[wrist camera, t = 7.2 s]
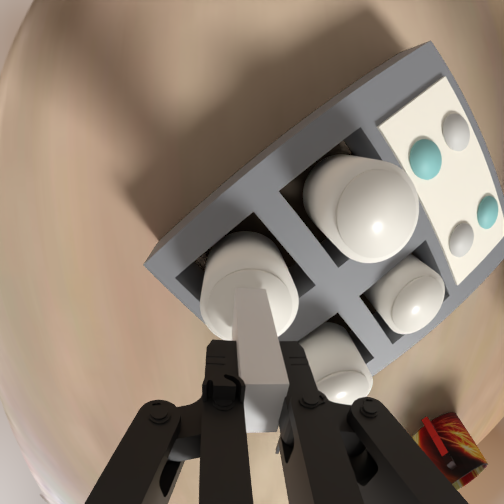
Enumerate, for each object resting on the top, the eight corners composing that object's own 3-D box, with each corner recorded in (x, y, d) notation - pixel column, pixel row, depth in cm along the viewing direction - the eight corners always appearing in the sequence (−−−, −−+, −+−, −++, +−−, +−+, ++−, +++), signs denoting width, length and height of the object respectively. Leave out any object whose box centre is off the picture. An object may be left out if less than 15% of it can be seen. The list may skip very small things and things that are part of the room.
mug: (421, 410, 33) (457, 472, 22) (465, 412, 36) (496, 459, 25) (380, 450, 36) (404, 509, 24) (429, 447, 39) (453, 494, 27)
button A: (397, 232, 22) (434, 256, 17) (420, 275, 24) (453, 304, 19) (348, 272, 23) (376, 306, 18) (376, 312, 25) (403, 347, 20)
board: (399, 52, 18) (434, 39, 13) (485, 230, 24) (518, 246, 19) (158, 241, 22) (141, 268, 17) (304, 379, 28) (315, 416, 23)
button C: (349, 138, 17) (391, 139, 12) (390, 201, 19) (435, 223, 14) (286, 188, 18) (307, 206, 13) (333, 249, 20) (364, 284, 15)
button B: (329, 309, 21) (354, 355, 16) (360, 347, 23) (385, 391, 18) (273, 349, 22) (284, 399, 17) (309, 381, 24) (324, 428, 19)
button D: (249, 215, 19) (257, 241, 14) (298, 271, 21) (318, 311, 16) (190, 265, 20) (178, 305, 15) (240, 314, 22) (244, 363, 17)
